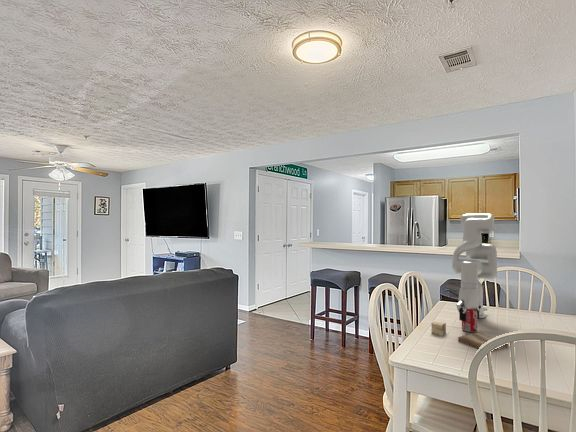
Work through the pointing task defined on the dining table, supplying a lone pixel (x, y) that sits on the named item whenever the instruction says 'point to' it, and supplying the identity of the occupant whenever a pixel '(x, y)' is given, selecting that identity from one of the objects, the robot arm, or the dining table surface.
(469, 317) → the soda can
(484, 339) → the walnut tray
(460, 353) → the dining table surface
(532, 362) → the dining table surface
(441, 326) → the oak block
